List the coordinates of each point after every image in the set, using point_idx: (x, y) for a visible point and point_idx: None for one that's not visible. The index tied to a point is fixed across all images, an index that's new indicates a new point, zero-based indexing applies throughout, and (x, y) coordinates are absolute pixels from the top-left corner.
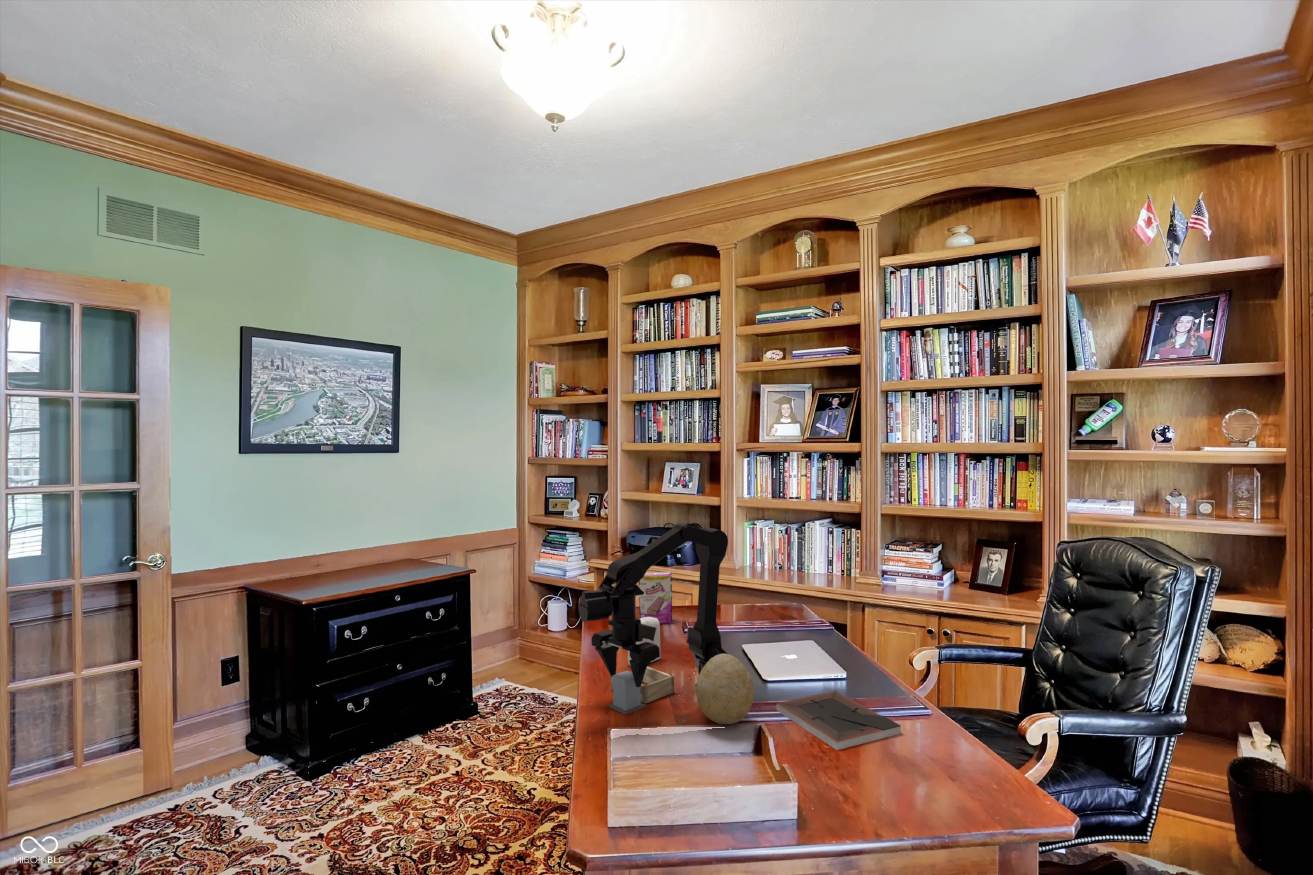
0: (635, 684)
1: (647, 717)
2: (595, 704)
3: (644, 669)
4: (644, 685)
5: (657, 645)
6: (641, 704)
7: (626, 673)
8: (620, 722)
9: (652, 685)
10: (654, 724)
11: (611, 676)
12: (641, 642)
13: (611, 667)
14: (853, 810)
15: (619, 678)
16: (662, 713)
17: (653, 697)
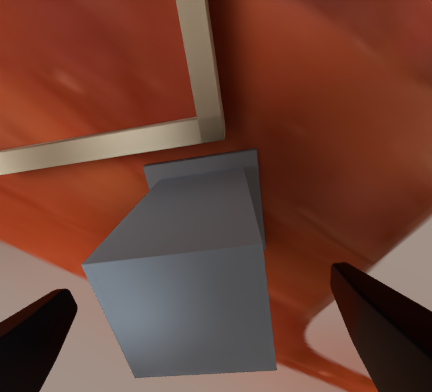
0: (342, 311)
1: (346, 196)
2: None
3: None
4: (202, 125)
5: None
6: (244, 161)
7: (149, 301)
8: (304, 283)
9: (213, 58)
10: (417, 209)
11: (73, 315)
12: None
13: (22, 382)
14: None
15: (213, 372)
16: (368, 122)
17: (216, 66)
